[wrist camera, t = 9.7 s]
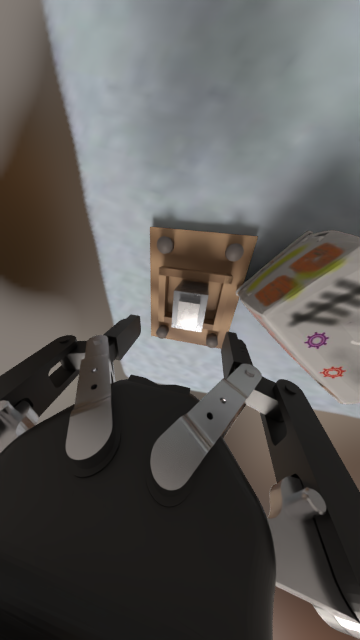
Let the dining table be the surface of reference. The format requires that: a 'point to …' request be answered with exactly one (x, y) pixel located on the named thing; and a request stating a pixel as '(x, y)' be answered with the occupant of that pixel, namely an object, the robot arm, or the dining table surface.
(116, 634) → the robot arm
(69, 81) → the dining table surface
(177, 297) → the block
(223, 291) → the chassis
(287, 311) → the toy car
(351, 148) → the dining table surface
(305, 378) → the dining table surface
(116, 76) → the dining table surface
